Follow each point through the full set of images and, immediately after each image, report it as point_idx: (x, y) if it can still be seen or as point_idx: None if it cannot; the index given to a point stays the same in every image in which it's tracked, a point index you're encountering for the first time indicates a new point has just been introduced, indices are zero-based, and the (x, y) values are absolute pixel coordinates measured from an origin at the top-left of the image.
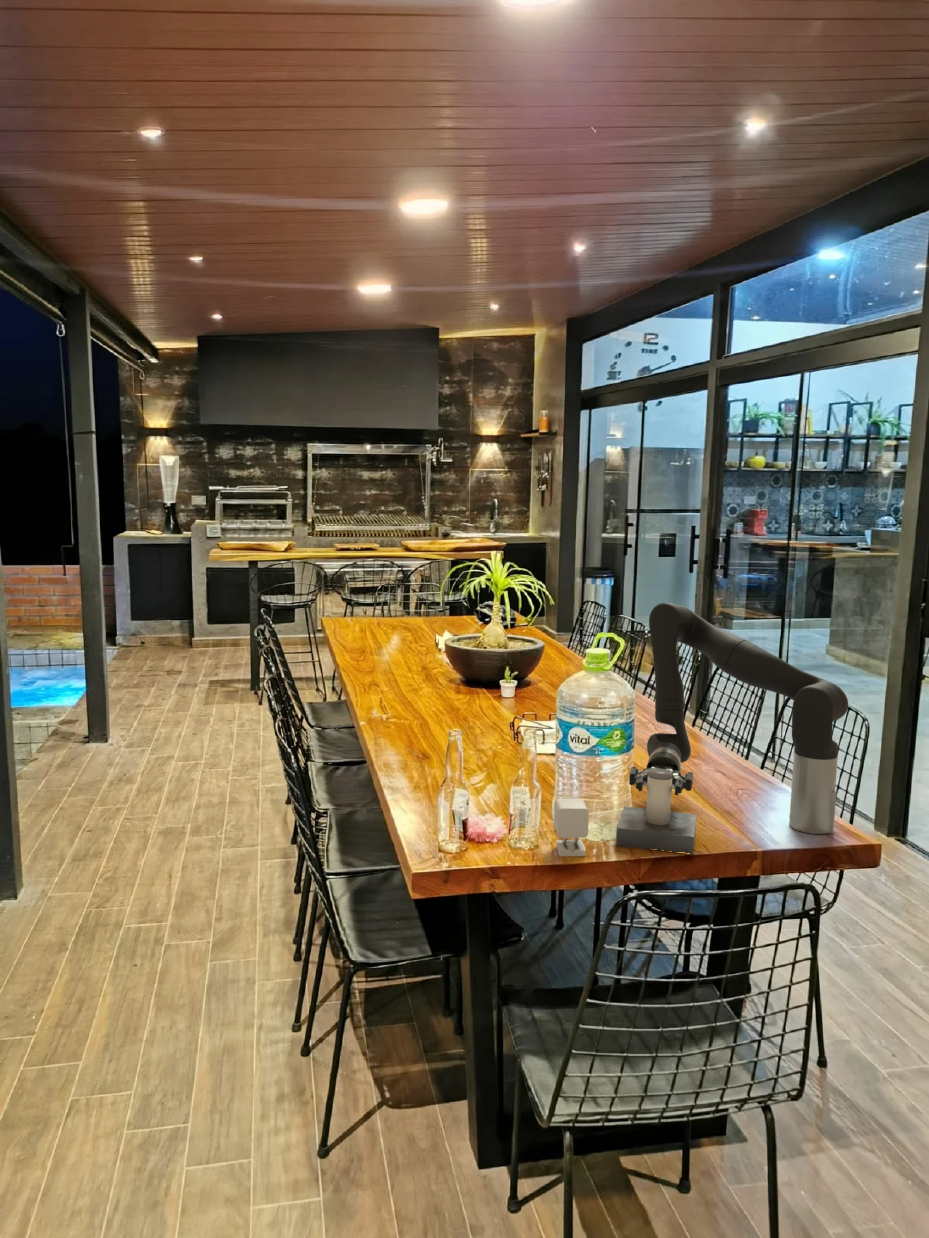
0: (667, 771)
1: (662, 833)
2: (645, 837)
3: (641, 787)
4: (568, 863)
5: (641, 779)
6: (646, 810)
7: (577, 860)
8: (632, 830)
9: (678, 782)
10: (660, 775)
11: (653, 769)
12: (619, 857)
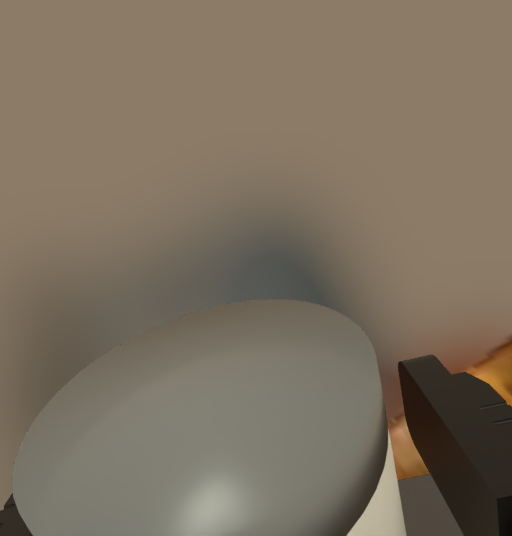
0: (86, 438)
1: None
2: None
3: (405, 398)
4: (508, 348)
5: (448, 403)
6: None
7: (505, 369)
8: (410, 480)
9: (14, 514)
10: (203, 311)
11: (314, 415)
12: (410, 440)
